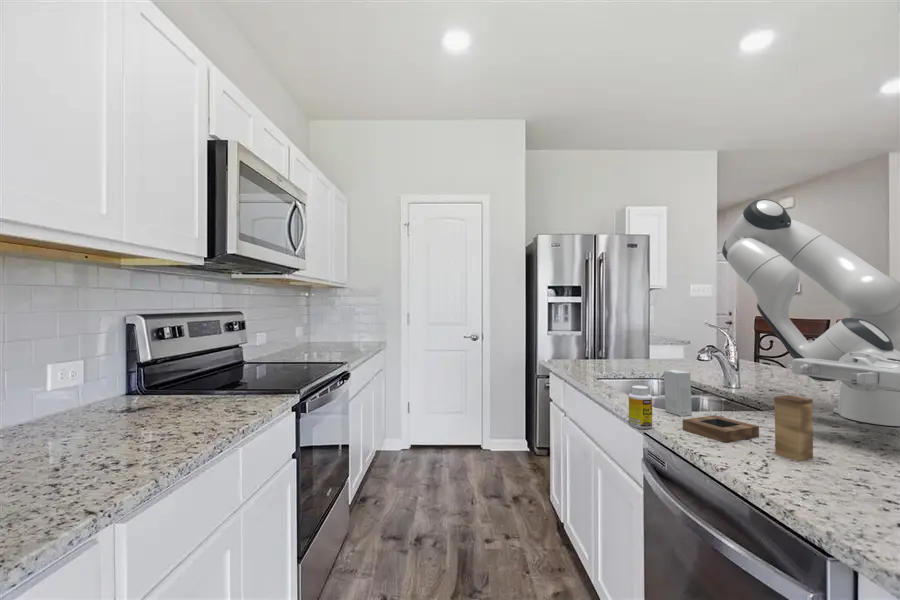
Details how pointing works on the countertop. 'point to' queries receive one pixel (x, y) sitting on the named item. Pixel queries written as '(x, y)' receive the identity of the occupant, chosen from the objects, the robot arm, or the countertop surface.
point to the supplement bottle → (640, 408)
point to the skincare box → (677, 392)
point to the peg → (793, 427)
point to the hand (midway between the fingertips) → (828, 373)
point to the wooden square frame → (721, 428)
